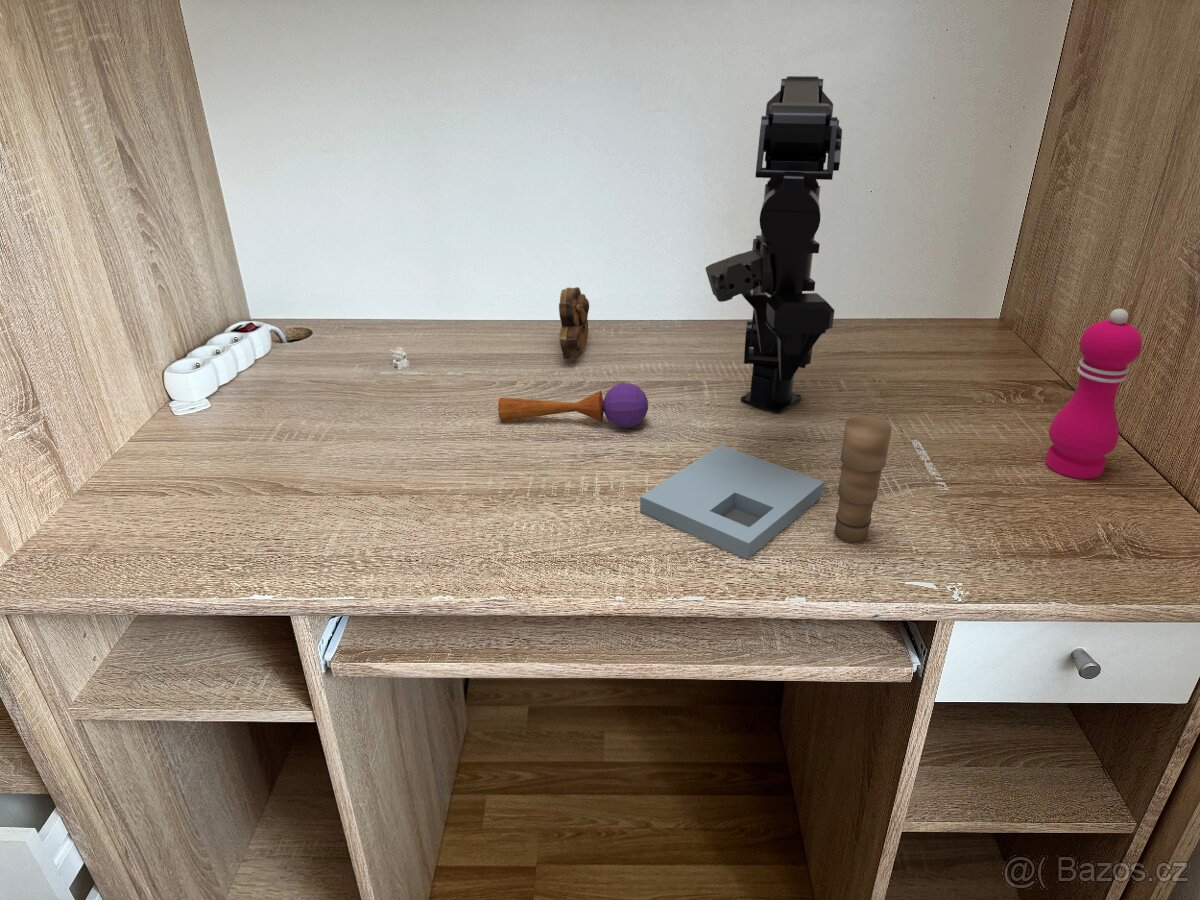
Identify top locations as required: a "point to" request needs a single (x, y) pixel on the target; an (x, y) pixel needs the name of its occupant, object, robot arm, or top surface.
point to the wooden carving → (573, 322)
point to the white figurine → (400, 358)
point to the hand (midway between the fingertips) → (774, 366)
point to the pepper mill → (1094, 399)
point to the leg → (860, 475)
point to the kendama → (584, 406)
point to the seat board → (732, 500)
